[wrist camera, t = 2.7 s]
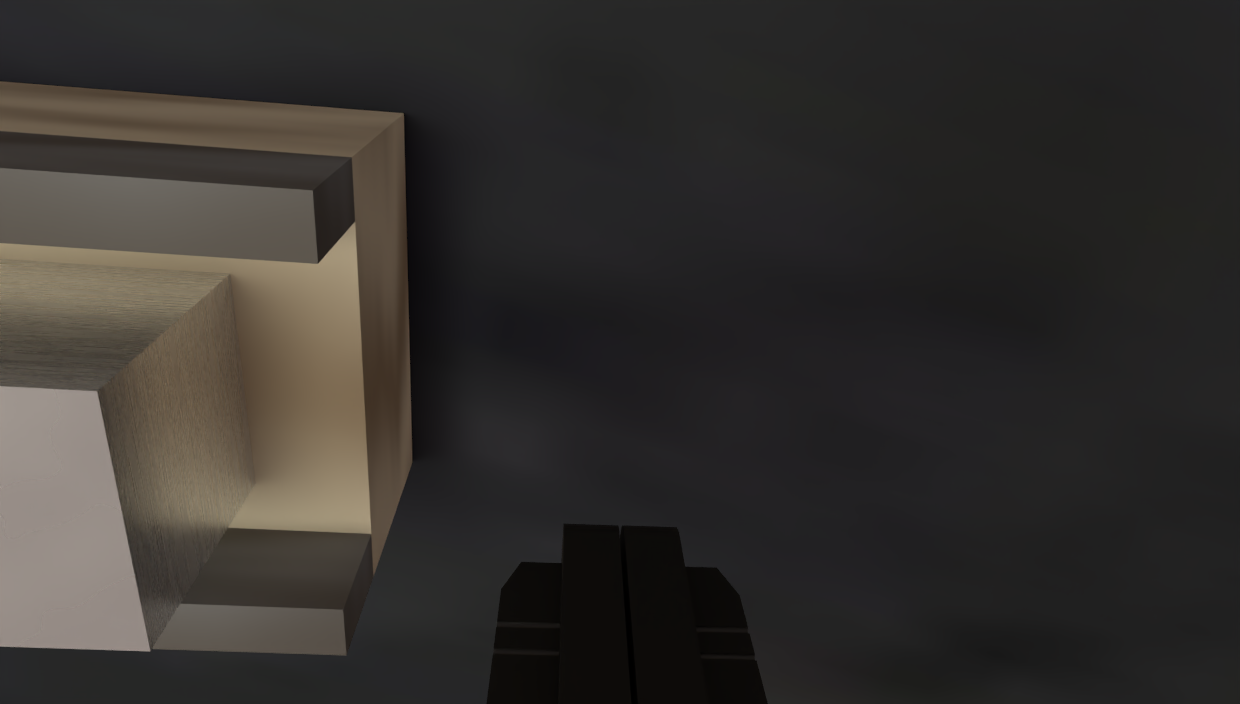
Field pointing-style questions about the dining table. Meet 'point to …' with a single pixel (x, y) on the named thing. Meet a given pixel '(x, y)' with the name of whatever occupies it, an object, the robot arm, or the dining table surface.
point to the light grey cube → (113, 447)
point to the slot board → (252, 318)
